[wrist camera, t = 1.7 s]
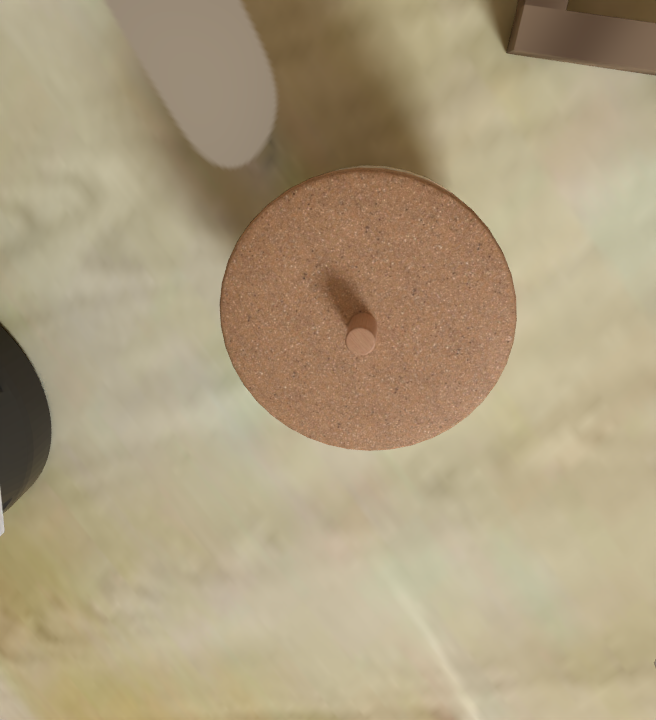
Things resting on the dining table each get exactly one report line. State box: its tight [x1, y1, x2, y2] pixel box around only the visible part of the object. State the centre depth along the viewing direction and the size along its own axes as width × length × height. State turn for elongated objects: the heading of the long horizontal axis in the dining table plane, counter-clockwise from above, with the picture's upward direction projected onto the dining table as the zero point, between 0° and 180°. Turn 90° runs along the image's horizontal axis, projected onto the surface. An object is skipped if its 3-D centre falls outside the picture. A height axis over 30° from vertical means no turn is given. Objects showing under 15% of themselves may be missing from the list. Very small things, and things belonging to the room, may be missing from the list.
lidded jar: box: [220, 166, 517, 451], centre depth 25 cm, size 11×11×9 cm
